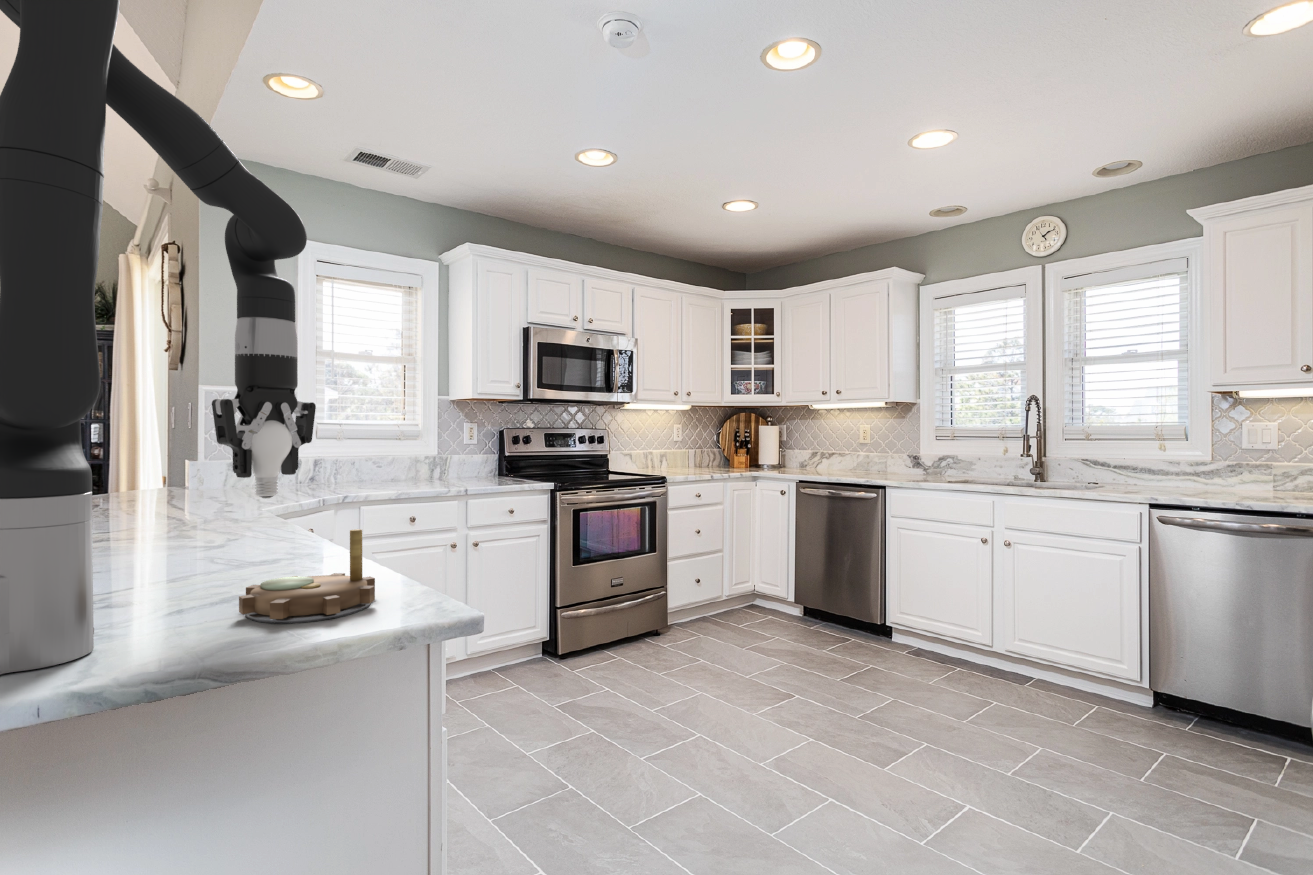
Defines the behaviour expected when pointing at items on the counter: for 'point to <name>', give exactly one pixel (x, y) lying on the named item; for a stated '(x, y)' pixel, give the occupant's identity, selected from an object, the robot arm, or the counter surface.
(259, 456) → the lightbulb
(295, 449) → the robot arm
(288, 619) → the plate
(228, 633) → the counter surface
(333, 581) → the sprocket
